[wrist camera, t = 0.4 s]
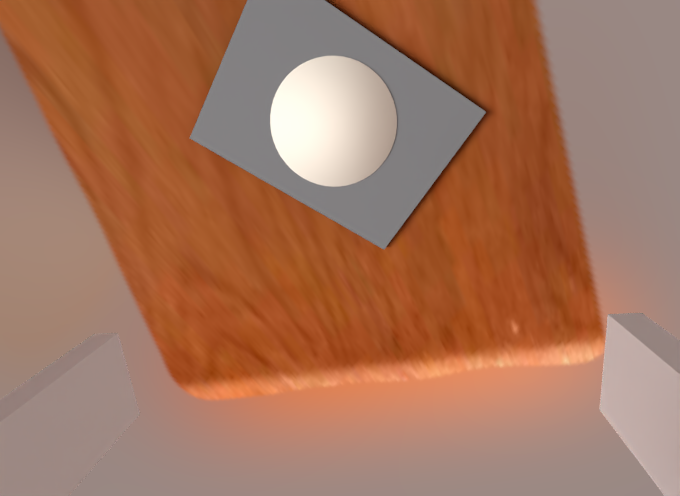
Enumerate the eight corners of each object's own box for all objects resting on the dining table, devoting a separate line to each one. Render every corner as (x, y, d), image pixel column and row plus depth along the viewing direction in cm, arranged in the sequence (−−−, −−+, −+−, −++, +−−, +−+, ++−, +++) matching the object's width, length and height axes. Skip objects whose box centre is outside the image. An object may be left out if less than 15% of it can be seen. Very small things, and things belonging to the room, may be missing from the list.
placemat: (266, -40, 28) (264, -42, 27) (484, 110, 32) (486, 112, 31) (192, 136, 34) (189, 138, 33) (383, 246, 37) (384, 250, 37)
